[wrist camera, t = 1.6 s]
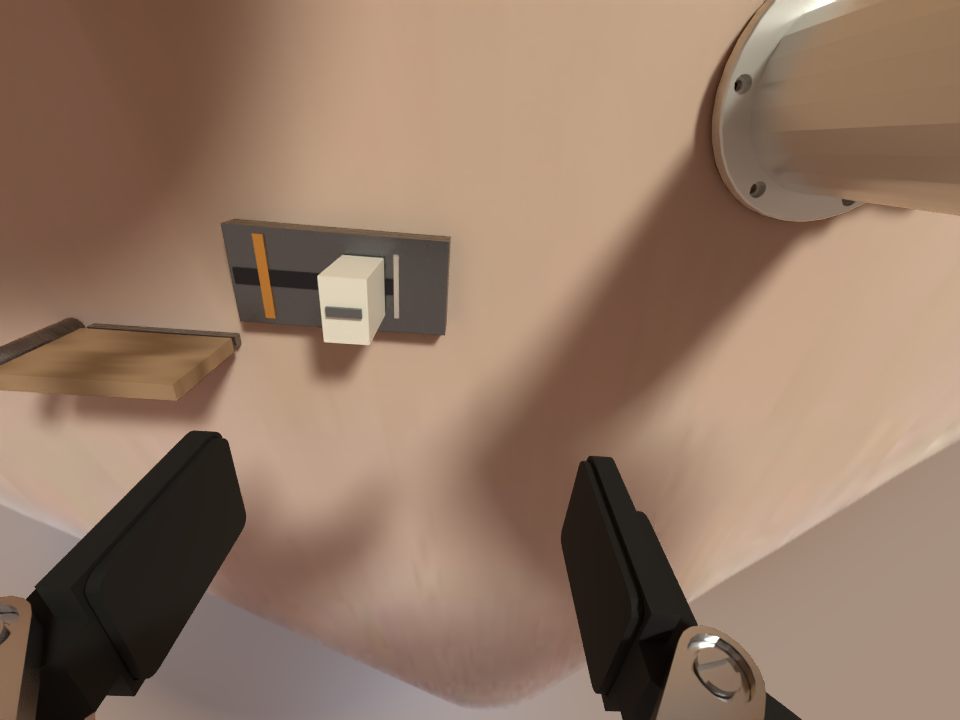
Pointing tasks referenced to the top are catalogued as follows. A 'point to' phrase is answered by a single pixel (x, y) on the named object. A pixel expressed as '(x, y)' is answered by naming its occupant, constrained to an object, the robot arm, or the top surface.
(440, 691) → the top surface
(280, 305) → the board
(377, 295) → the fader cap
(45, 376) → the door
